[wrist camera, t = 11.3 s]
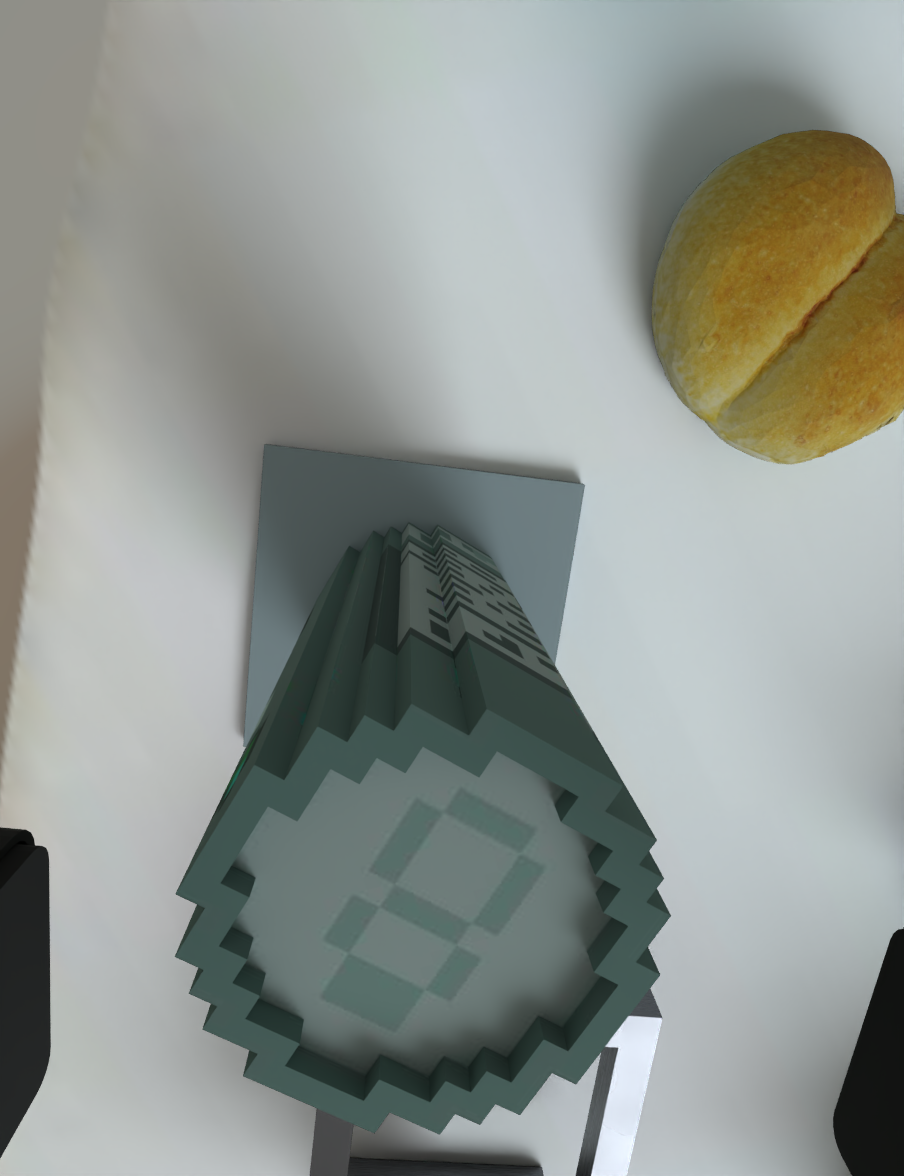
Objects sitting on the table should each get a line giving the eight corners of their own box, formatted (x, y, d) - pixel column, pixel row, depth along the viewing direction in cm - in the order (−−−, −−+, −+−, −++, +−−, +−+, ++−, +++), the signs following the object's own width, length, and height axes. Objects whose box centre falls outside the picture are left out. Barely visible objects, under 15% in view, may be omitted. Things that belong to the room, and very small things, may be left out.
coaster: (266, 444, 23) (264, 444, 23) (582, 483, 24) (585, 484, 23) (245, 741, 25) (243, 746, 25) (534, 768, 26) (536, 773, 26)
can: (285, 650, 24) (102, 1013, 10) (381, 490, 23) (340, 625, 9) (444, 738, 25) (496, 1187, 11) (543, 588, 24) (749, 857, 10)
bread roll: (785, 90, 22) (867, 21, 18) (961, 320, 24) (1070, 302, 20) (580, 302, 23) (615, 280, 19) (764, 506, 25) (830, 524, 21)
